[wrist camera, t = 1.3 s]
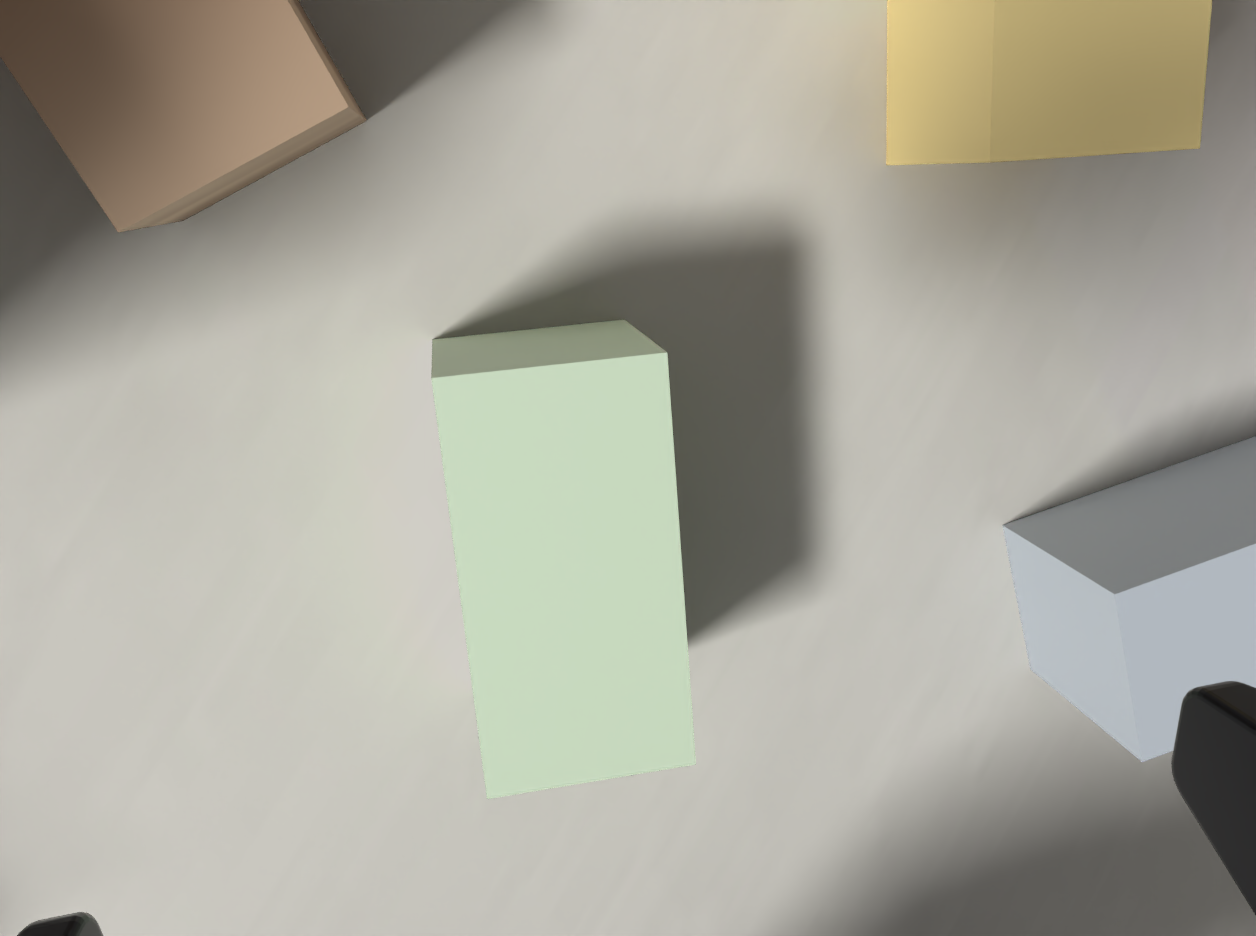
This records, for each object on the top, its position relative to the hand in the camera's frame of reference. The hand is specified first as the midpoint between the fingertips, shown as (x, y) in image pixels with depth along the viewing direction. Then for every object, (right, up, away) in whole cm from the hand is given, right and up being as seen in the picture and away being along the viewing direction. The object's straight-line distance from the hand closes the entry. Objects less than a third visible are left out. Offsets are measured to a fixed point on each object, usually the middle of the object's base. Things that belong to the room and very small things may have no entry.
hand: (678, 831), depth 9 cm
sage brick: (-2, +2, +12) cm, 12 cm away
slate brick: (+11, +1, +14) cm, 18 cm away
